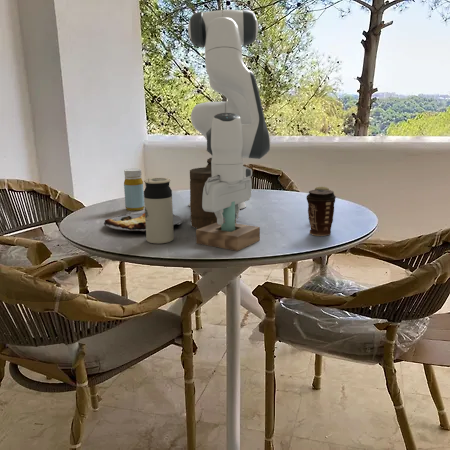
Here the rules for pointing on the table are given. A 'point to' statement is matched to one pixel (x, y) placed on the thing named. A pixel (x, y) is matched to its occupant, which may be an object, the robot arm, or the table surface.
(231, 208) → the peg
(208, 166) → the wooden container
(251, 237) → the socket block
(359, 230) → the table surface
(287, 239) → the table surface
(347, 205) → the table surface
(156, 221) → the travel mug
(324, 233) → the coffee cup
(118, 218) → the food plate
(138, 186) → the bottle
